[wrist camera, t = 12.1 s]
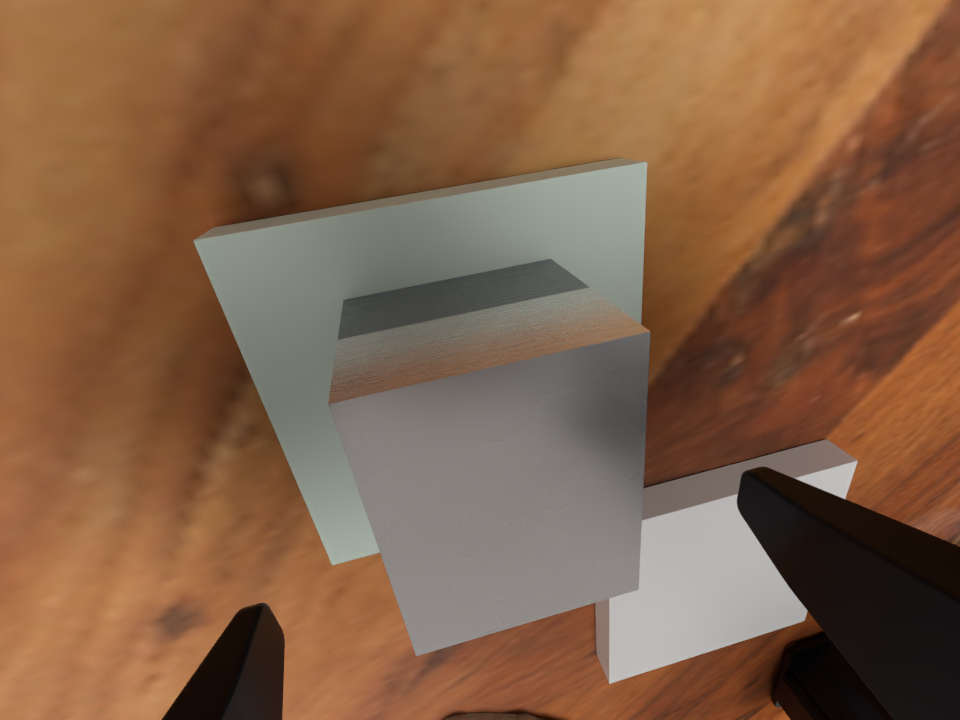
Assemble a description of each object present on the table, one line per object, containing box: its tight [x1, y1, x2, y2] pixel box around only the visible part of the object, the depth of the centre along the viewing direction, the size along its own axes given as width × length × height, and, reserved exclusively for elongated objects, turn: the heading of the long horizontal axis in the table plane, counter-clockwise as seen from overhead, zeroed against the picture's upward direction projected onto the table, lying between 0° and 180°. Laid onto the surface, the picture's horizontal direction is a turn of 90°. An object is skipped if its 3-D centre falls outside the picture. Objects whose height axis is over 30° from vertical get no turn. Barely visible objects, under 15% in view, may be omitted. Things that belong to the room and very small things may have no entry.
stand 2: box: [595, 439, 858, 684], centre depth 22 cm, size 11×11×2 cm
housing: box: [328, 259, 650, 656], centre depth 11 cm, size 6×7×5 cm
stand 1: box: [193, 158, 647, 565], centre depth 14 cm, size 11×11×2 cm
